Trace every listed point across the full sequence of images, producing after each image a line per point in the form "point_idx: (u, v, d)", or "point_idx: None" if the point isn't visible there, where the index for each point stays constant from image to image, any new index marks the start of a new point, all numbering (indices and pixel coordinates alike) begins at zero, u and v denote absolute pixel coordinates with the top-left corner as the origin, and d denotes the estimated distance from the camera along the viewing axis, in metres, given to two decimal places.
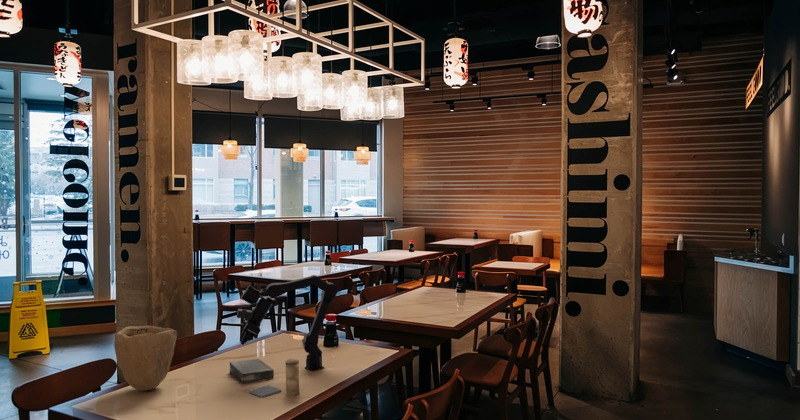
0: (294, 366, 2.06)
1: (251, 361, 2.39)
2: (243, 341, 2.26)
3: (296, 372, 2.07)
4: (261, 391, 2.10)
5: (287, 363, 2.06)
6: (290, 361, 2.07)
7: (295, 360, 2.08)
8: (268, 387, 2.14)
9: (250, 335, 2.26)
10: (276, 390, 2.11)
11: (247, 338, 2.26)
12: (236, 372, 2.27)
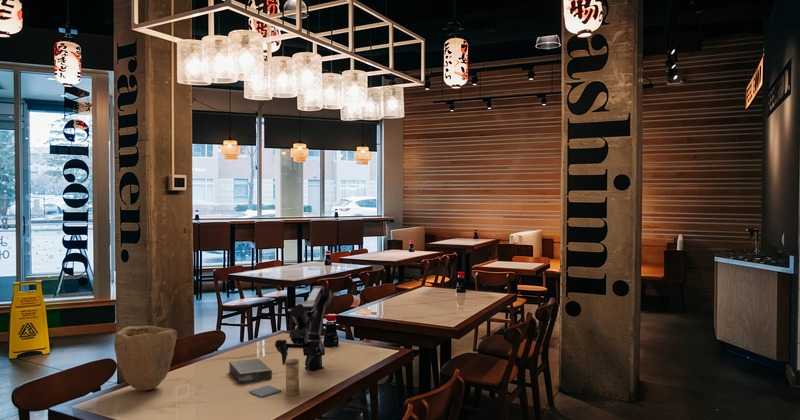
0: (294, 366, 2.06)
1: (251, 361, 2.39)
2: (307, 361, 2.14)
3: (296, 372, 2.07)
4: (261, 391, 2.10)
5: (287, 363, 2.06)
6: (290, 361, 2.07)
7: (295, 360, 2.08)
8: (268, 387, 2.14)
9: (311, 355, 2.17)
10: (276, 390, 2.11)
11: (310, 358, 2.16)
12: (235, 372, 2.27)
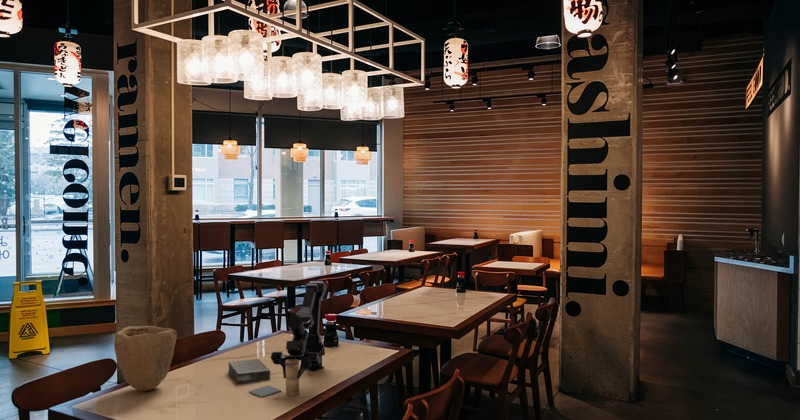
0: (294, 366, 2.06)
1: (250, 361, 2.39)
2: (300, 374, 2.07)
3: (296, 372, 2.07)
4: (261, 391, 2.10)
5: (287, 363, 2.06)
6: (290, 361, 2.07)
7: (295, 360, 2.08)
8: (268, 387, 2.14)
9: (304, 367, 2.11)
10: (276, 390, 2.11)
11: (303, 370, 2.09)
12: (233, 372, 2.27)
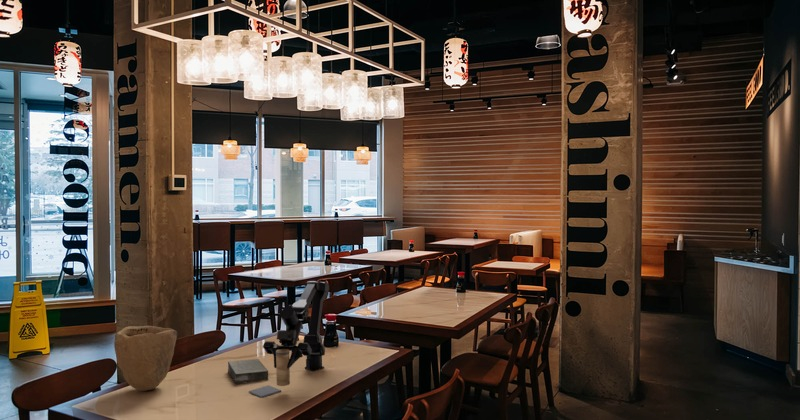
0: (284, 356, 2.06)
1: (249, 361, 2.39)
2: (290, 364, 2.07)
3: (286, 362, 2.07)
4: (261, 391, 2.10)
5: (277, 353, 2.06)
6: (280, 351, 2.07)
7: (285, 350, 2.08)
8: (268, 387, 2.14)
9: (295, 357, 2.10)
10: (276, 390, 2.11)
11: (293, 361, 2.09)
12: (232, 372, 2.27)
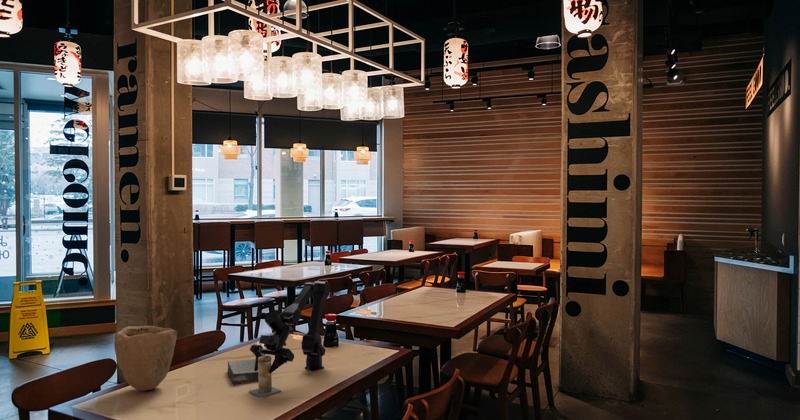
0: (264, 363, 2.08)
1: (249, 361, 2.39)
2: (272, 369, 2.08)
3: (266, 369, 2.09)
4: None
5: (258, 360, 2.09)
6: (262, 358, 2.10)
7: (267, 357, 2.10)
8: None
9: (279, 363, 2.11)
10: (276, 390, 2.11)
11: (276, 366, 2.10)
12: (230, 372, 2.27)
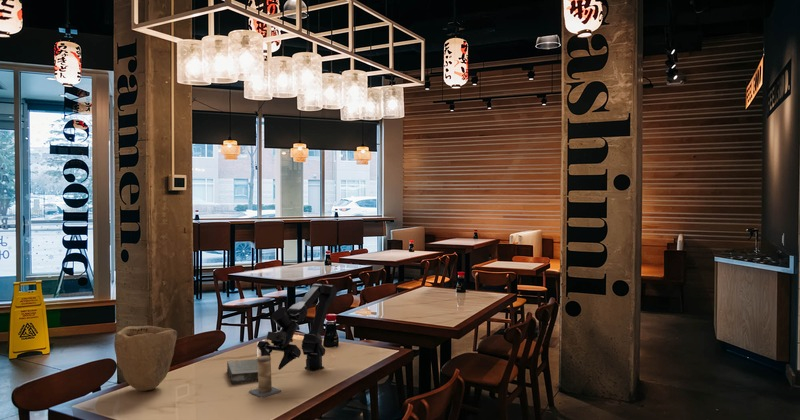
0: (263, 363, 2.08)
1: (248, 361, 2.39)
2: (281, 365, 2.12)
3: (266, 369, 2.09)
4: None
5: (257, 359, 2.09)
6: (261, 358, 2.10)
7: (267, 357, 2.10)
8: None
9: (288, 359, 2.15)
10: (276, 390, 2.11)
11: (285, 362, 2.13)
12: (229, 372, 2.28)
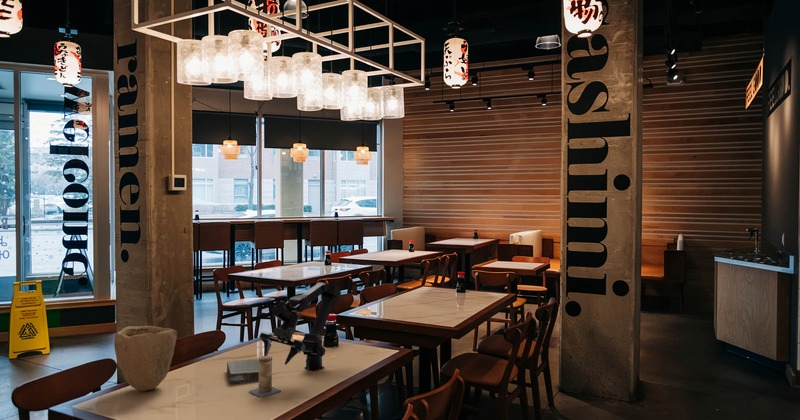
0: (265, 363, 2.08)
1: (248, 361, 2.39)
2: (287, 361, 2.18)
3: (267, 369, 2.09)
4: None
5: (259, 359, 2.09)
6: (262, 358, 2.10)
7: (268, 357, 2.10)
8: None
9: (293, 353, 2.20)
10: (276, 390, 2.11)
11: (291, 357, 2.19)
12: None
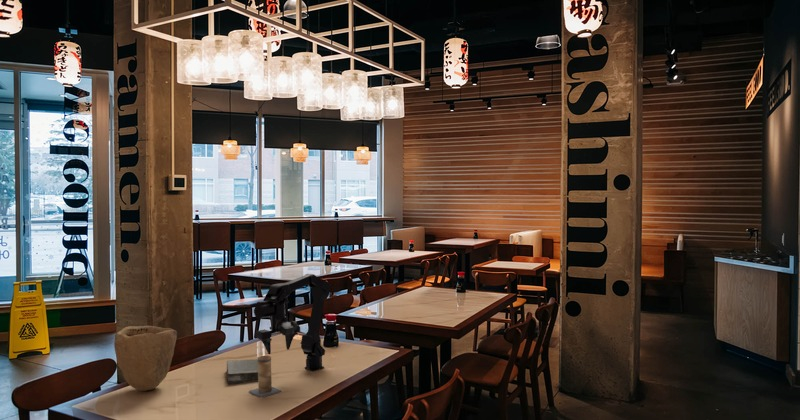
0: (264, 363, 2.08)
1: (247, 361, 2.39)
2: None
3: (266, 369, 2.08)
4: None
5: (258, 360, 2.09)
6: (261, 358, 2.09)
7: (267, 357, 2.10)
8: None
9: None
10: (276, 390, 2.11)
11: None
12: (227, 371, 2.28)
